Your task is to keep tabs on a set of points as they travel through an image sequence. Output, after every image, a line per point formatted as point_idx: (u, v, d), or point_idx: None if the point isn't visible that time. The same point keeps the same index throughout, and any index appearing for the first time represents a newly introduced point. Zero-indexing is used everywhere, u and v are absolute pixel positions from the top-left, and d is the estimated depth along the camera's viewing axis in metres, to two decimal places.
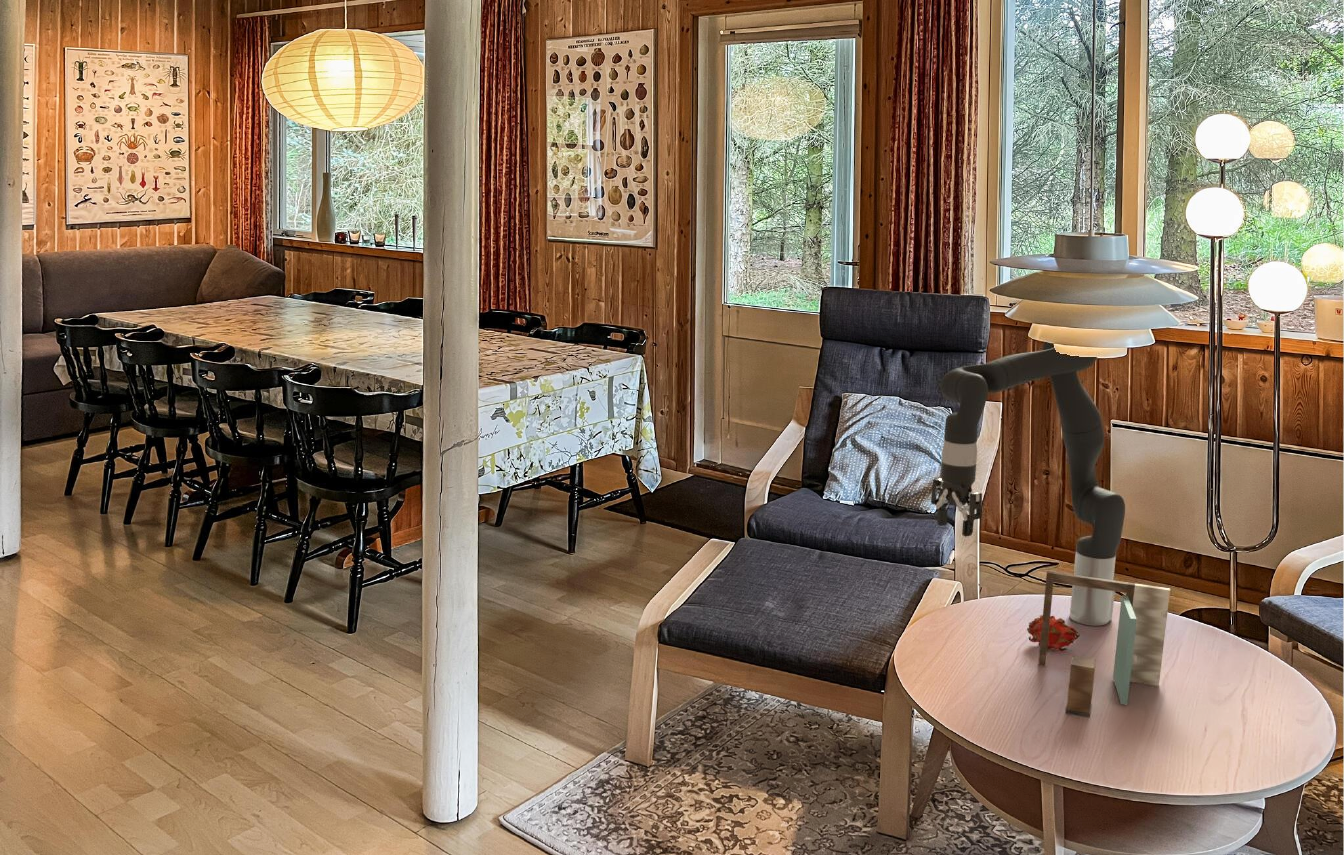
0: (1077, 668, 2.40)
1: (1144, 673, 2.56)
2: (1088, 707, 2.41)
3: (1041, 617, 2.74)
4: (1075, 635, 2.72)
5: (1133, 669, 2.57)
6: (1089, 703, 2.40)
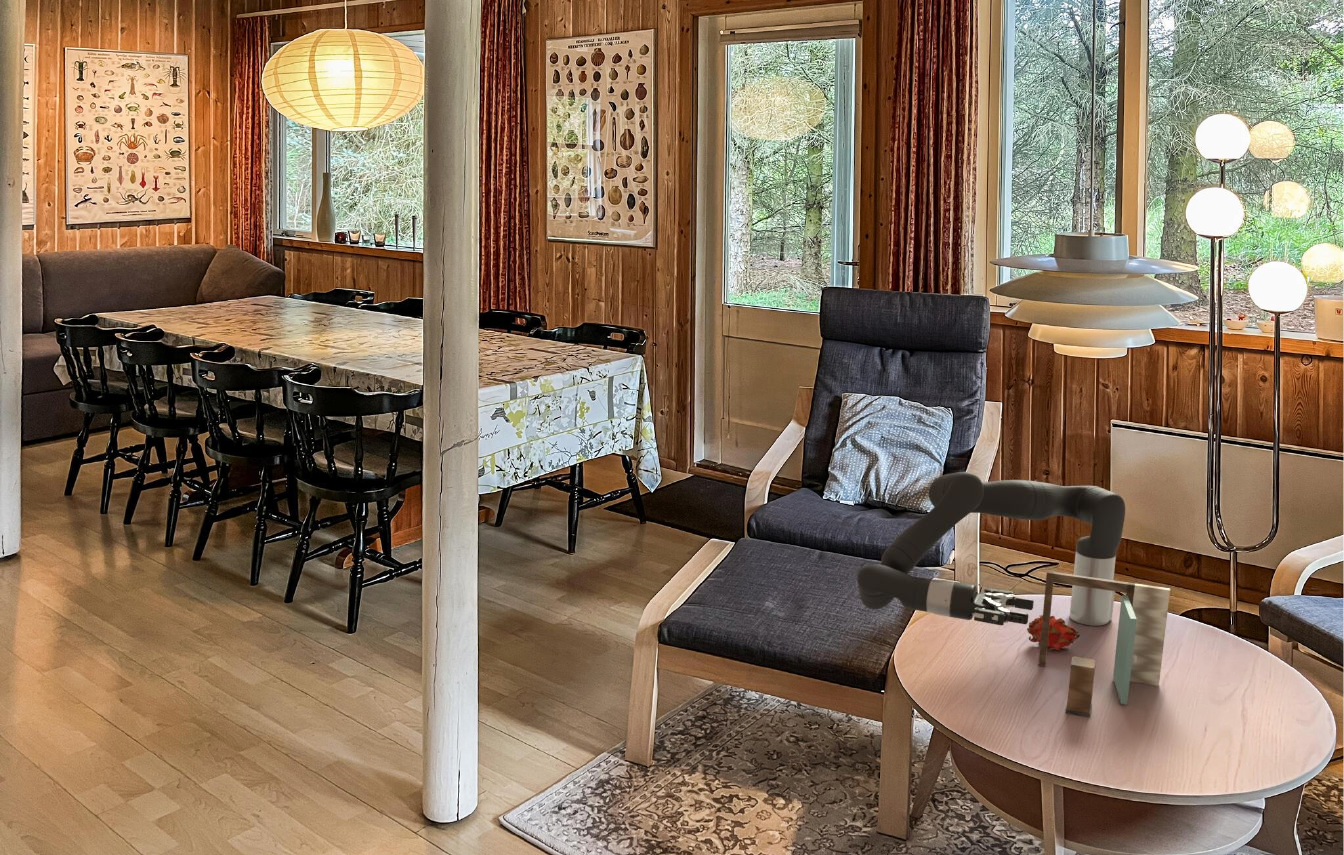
0: (1077, 668, 2.40)
1: (1144, 673, 2.56)
2: (1088, 707, 2.41)
3: (1041, 617, 2.74)
4: (1075, 635, 2.72)
5: (1133, 669, 2.57)
6: (1089, 703, 2.40)
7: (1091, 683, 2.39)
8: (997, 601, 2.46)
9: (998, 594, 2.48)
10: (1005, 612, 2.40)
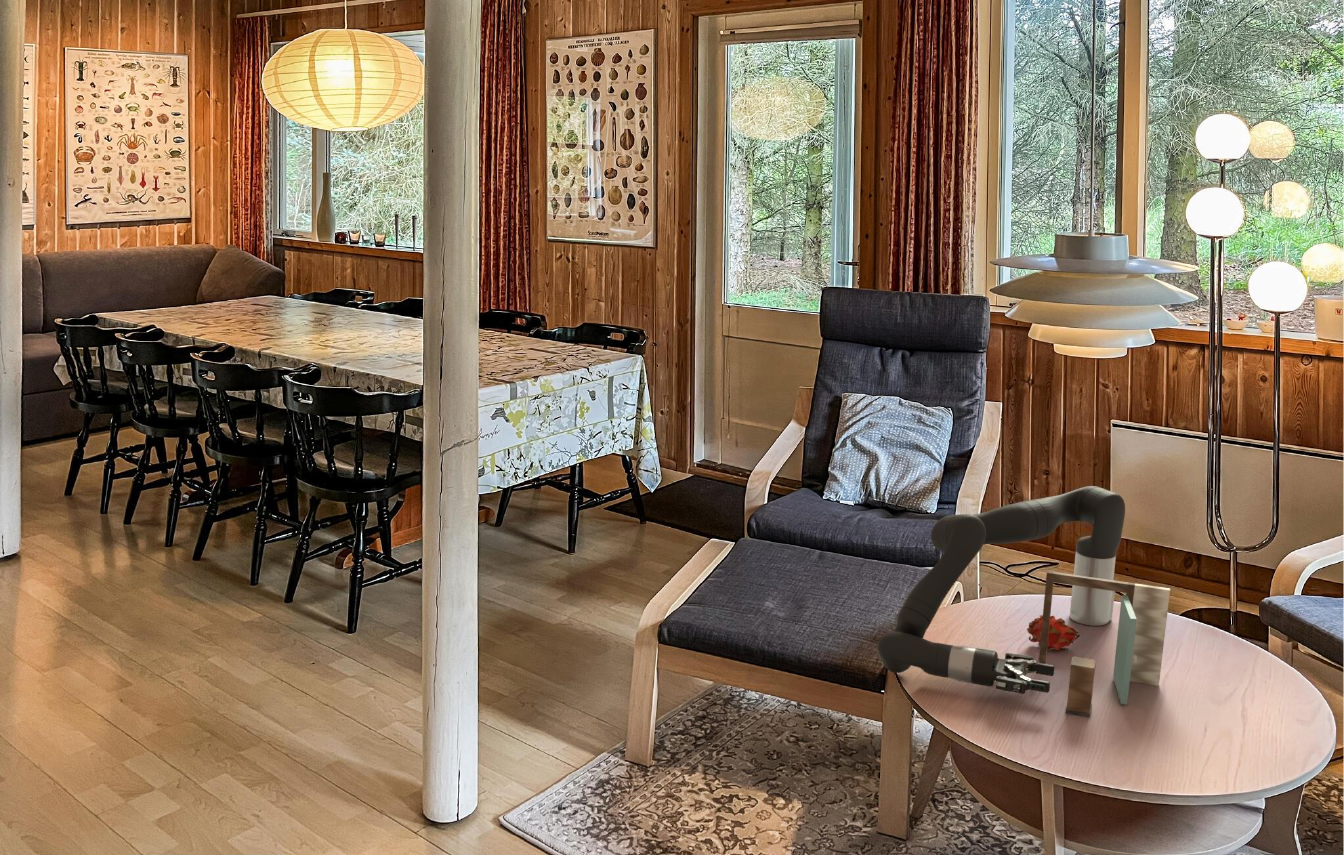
0: (1077, 668, 2.40)
1: (1144, 673, 2.56)
2: (1088, 707, 2.41)
3: (1041, 617, 2.74)
4: (1075, 635, 2.72)
5: (1133, 669, 2.57)
6: (1089, 703, 2.40)
7: (1091, 683, 2.39)
8: (1018, 668, 2.47)
9: (1019, 660, 2.49)
10: (1027, 681, 2.42)
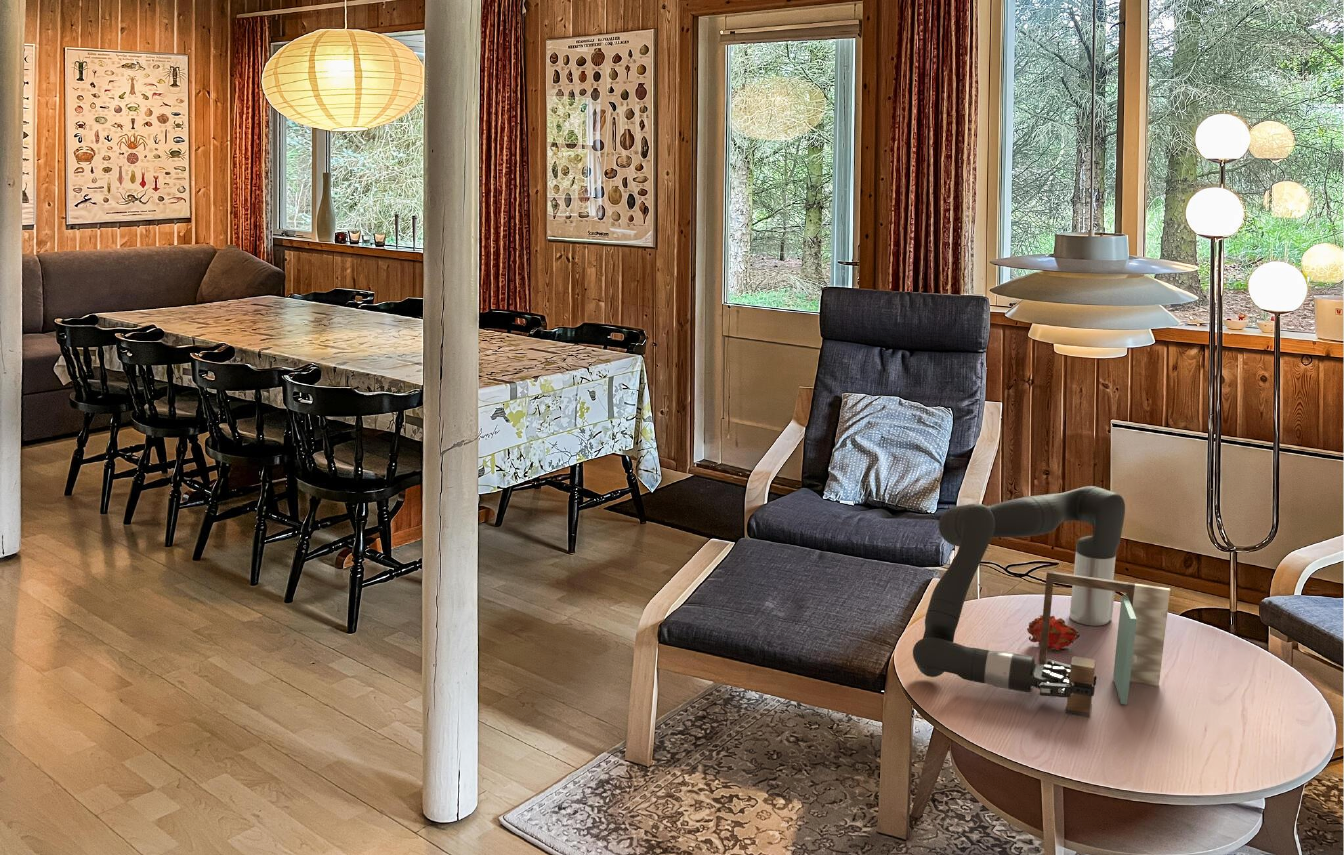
0: (1077, 668, 2.40)
1: (1144, 673, 2.56)
2: (1088, 707, 2.41)
3: (1041, 617, 2.74)
4: (1075, 635, 2.72)
5: (1133, 669, 2.57)
6: (1089, 703, 2.40)
7: (1091, 683, 2.39)
8: (1056, 674, 2.44)
9: (1058, 668, 2.46)
10: (1071, 684, 2.40)
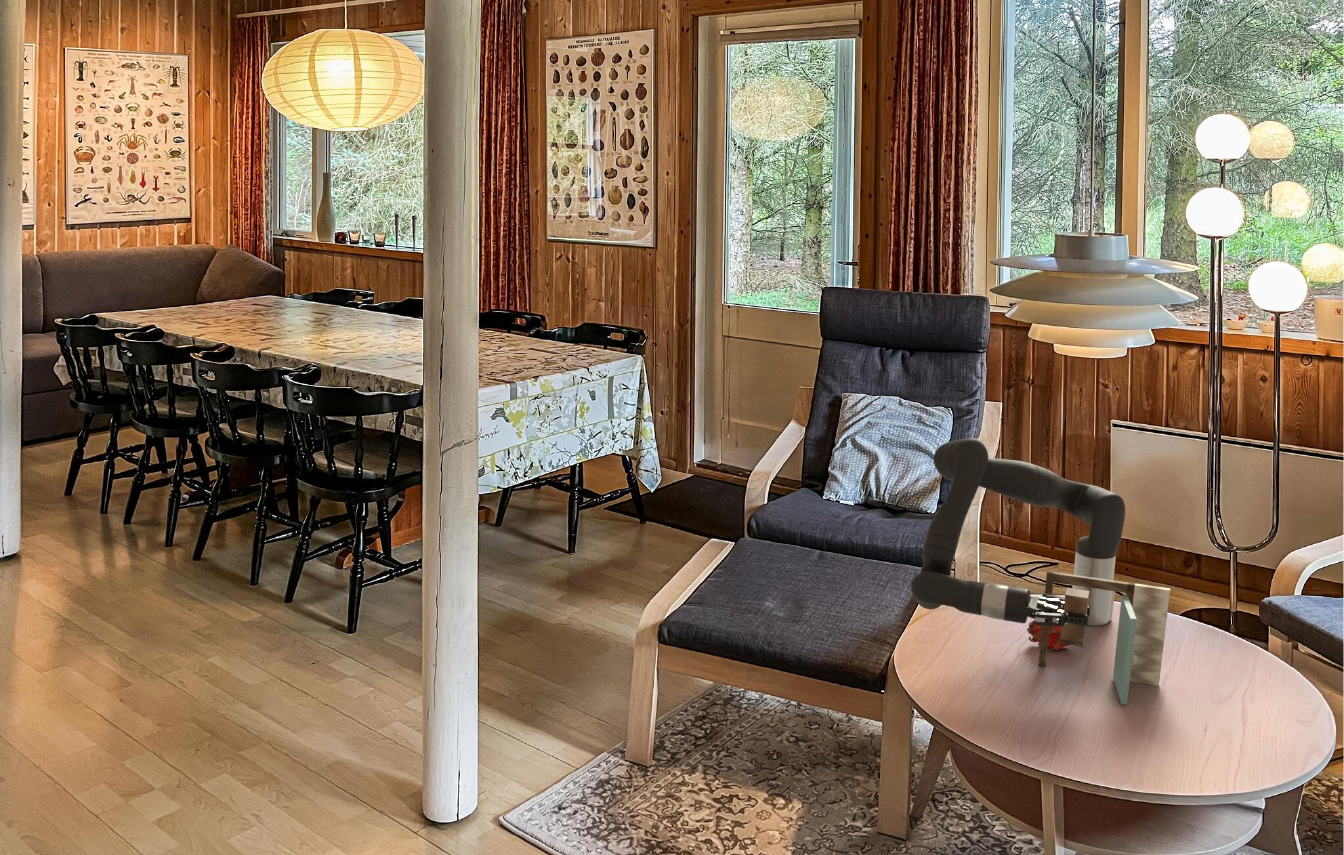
0: (1071, 598, 2.46)
1: (1144, 673, 2.56)
2: (1081, 636, 2.47)
3: None
4: None
5: (1133, 669, 2.57)
6: (1082, 632, 2.47)
7: (1084, 613, 2.46)
8: (1051, 605, 2.51)
9: (1053, 599, 2.52)
10: (1065, 614, 2.46)
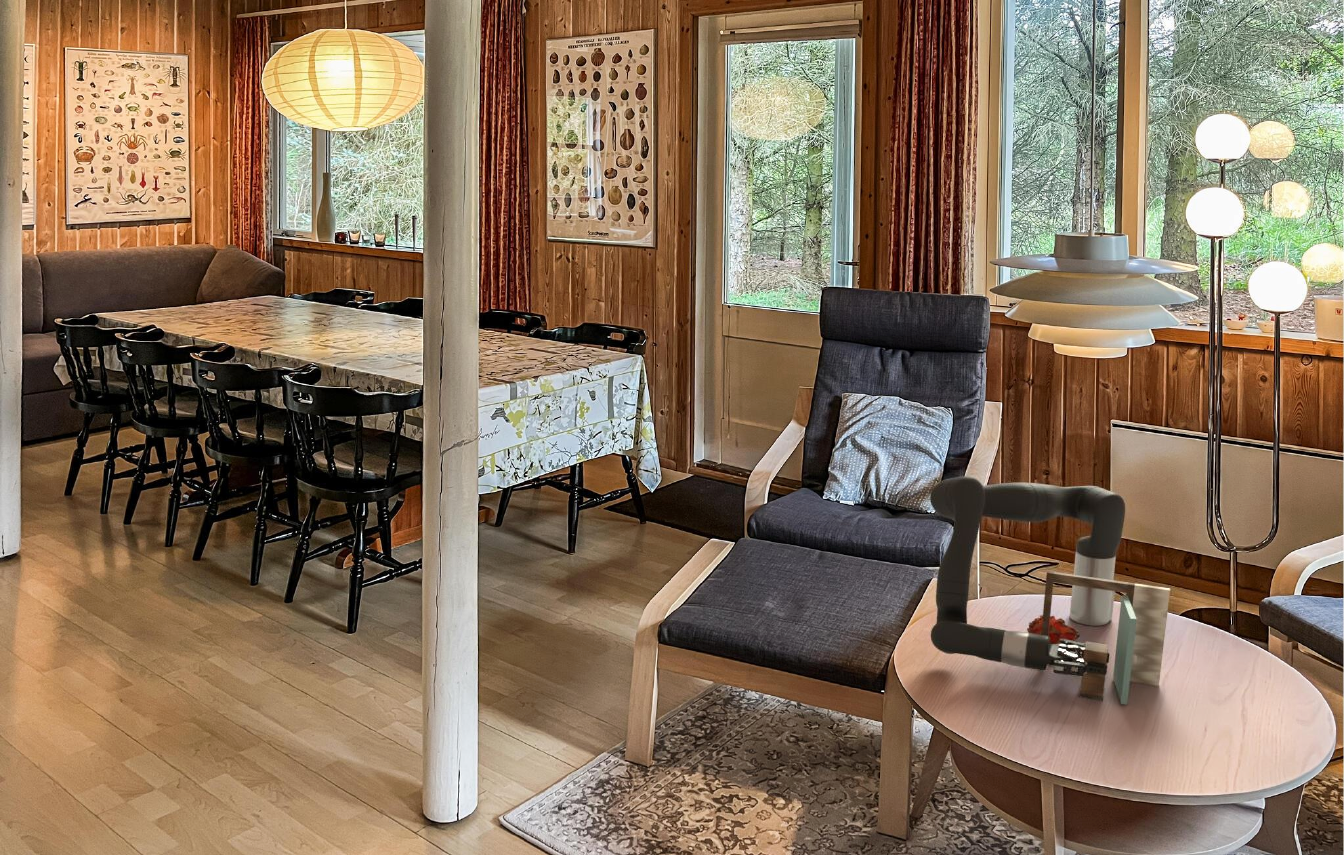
0: (1090, 653, 2.47)
1: (1144, 673, 2.56)
2: (1101, 691, 2.48)
3: (1041, 617, 2.74)
4: (1075, 635, 2.72)
5: (1133, 669, 2.57)
6: (1102, 687, 2.48)
7: None
8: (1071, 652, 2.51)
9: (1073, 646, 2.53)
10: (1084, 663, 2.46)
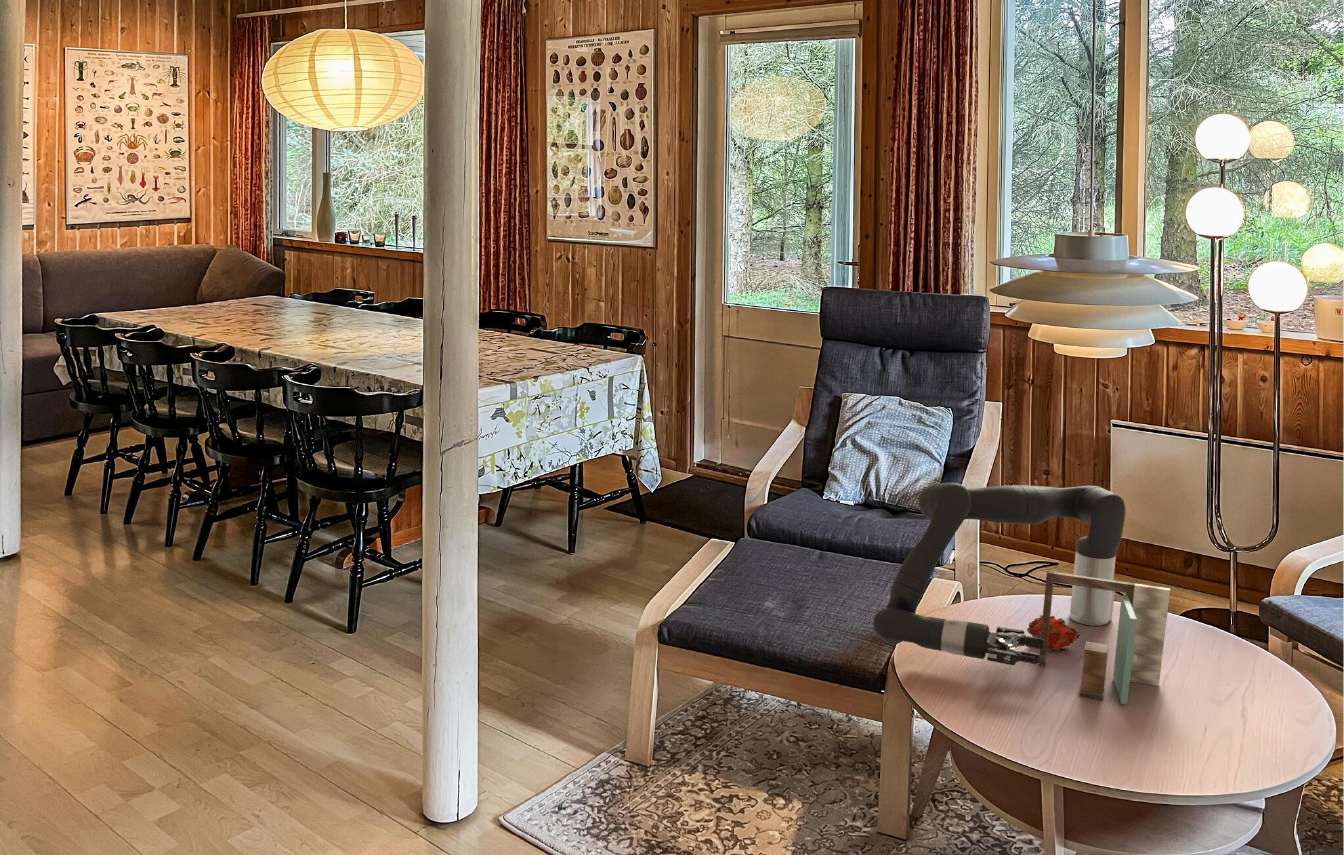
0: (1090, 653, 2.47)
1: (1144, 673, 2.56)
2: (1101, 691, 2.48)
3: (1041, 617, 2.74)
4: (1075, 635, 2.72)
5: (1133, 669, 2.57)
6: (1102, 687, 2.48)
7: (1104, 667, 2.47)
8: (1009, 641, 2.56)
9: (1010, 634, 2.58)
10: (1017, 652, 2.50)
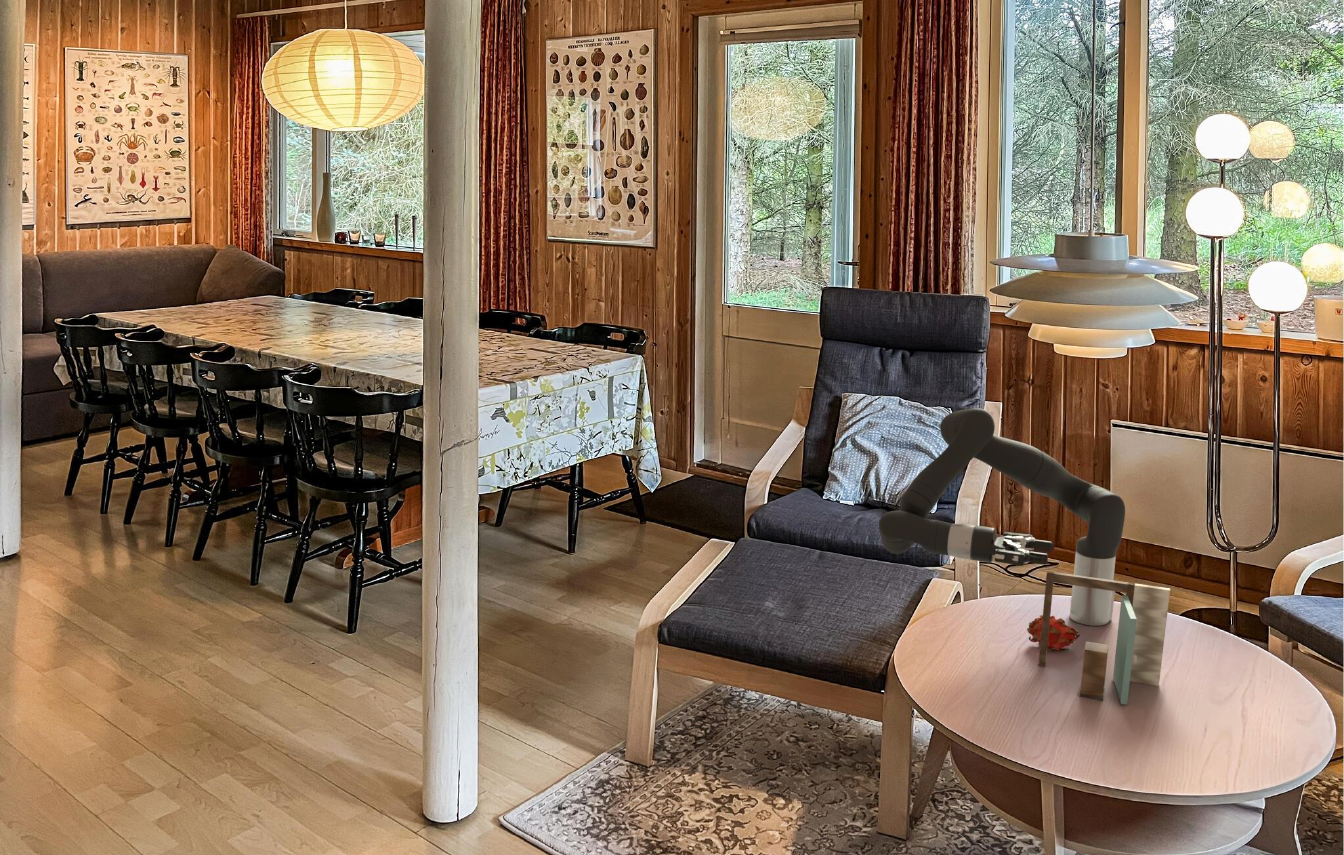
0: (1090, 653, 2.47)
1: (1144, 673, 2.56)
2: (1101, 691, 2.48)
3: (1041, 617, 2.74)
4: (1075, 635, 2.72)
5: (1133, 669, 2.57)
6: (1102, 687, 2.48)
7: (1104, 667, 2.47)
8: (1017, 543, 2.51)
9: (1018, 537, 2.53)
10: (1025, 553, 2.45)
